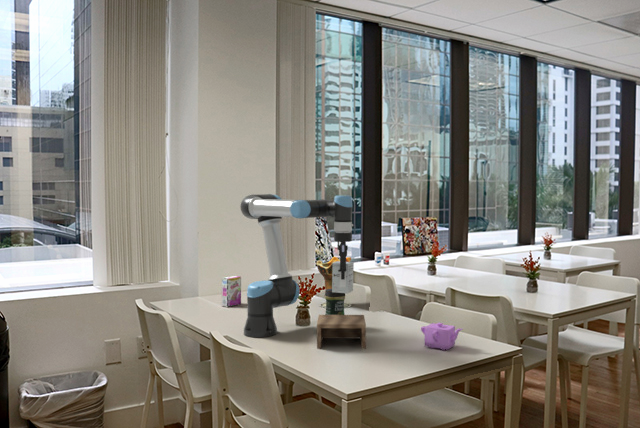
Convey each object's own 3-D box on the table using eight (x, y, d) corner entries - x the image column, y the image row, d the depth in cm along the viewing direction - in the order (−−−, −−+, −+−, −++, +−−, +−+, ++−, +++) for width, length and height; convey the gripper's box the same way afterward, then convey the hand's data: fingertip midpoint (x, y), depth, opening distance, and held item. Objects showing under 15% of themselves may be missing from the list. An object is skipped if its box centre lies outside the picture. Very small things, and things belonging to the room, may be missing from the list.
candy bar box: (227, 307, 307) (227, 278, 307) (221, 306, 310) (221, 277, 310) (241, 304, 316) (241, 276, 316) (235, 303, 319) (235, 275, 319)
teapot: (467, 347, 225) (467, 322, 225) (457, 355, 214) (457, 329, 213) (426, 341, 235) (426, 317, 235) (414, 348, 223) (414, 324, 223)
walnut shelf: (317, 348, 224) (316, 324, 224) (318, 337, 242) (318, 314, 242) (365, 348, 224) (365, 324, 223) (364, 337, 242) (363, 314, 241)
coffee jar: (330, 329, 255) (330, 290, 255) (322, 326, 262) (322, 288, 261) (348, 327, 260) (348, 288, 259) (339, 323, 267) (339, 286, 266)
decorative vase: (309, 307, 304) (310, 257, 304) (325, 302, 325) (326, 255, 325) (344, 310, 296) (345, 259, 296) (358, 304, 317) (359, 256, 317)
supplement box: (331, 292, 230) (331, 262, 229) (337, 289, 236) (337, 260, 236) (348, 293, 227) (348, 263, 226) (353, 290, 234) (354, 261, 233)
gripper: (352, 234, 220) (352, 289, 221) (351, 230, 241) (351, 280, 242) (333, 233, 220) (333, 289, 221) (334, 229, 241) (334, 280, 242)
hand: (342, 285), depth 232 cm, fingers closed on supplement box, 9 cm apart
